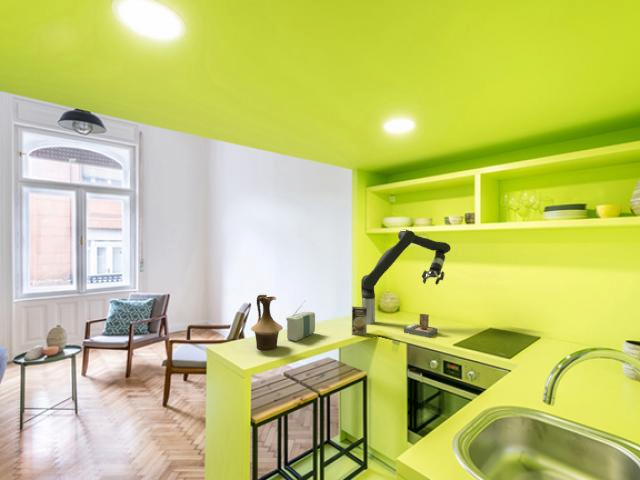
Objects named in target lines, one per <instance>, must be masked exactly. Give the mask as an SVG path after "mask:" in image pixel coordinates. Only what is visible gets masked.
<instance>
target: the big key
mask: <svg viewBox="0 0 640 480" xmlns="http://www.w3.org/2000/svg"><path fill="white" fill-rule="evenodd" d="M415 330H420V331H425V332H428V331H430V330H432V328H427V330H423V329H421V328H419V327H418V328H416V329H415Z"/></svg>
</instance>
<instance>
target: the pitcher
mask: <svg viewBox="0 0 640 480" xmlns="http://www.w3.org/2000/svg"><path fill="white" fill-rule="evenodd" d="M275 300H277V297H276V296H268V295H267V294H259V295H257V297H256V306H257V307H256V308H257V313H258V315H257V316H258V319H257V322H256V324H254V325H252V326H251V327H250V330H251V331H252V332H253V333H254V334H255V343H256V349H257V350H261V351H271V350H272V351H273V350H275V349H277V348H278V338H279V333H280V332H281V331H282V330H283V328H284V327H283V325H282V324H281V325H280V323H278V322H277V321H275V320H274V318H273V317H272V314H271V310H270V309H271V308H270V307H271V304H272V303H271V302H273V301H275ZM261 304H262V309H261Z"/></svg>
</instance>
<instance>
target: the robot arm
mask: <svg viewBox="0 0 640 480" xmlns="http://www.w3.org/2000/svg"><path fill="white" fill-rule="evenodd" d="M405 230H406V231H401V230H400V231H399V232H398V234H397V237H398V239H399V240H398V241H397V243H396V244H395V245H393V246H392V247H390V248H389V249H387V250H386V251H385V252H383V254H382V255H381V256H380V258H379V259H378V260H377V262H376V264H375V267H374V268H373V269H372V270H371V271H370V273H368V274H365V275H363V277H362V278H361V280H360V281H361V283H360V284H361V285H360V288H361V307H366V308H367V325H372V324H376V293H375V287H376V285H377V283H378V282H379V280H380V279H381V278H382V276H383V275H384V274H385V273H386V272H387V271H388V270H389V269H390V268H391V267H392V266H393V264H394V263H395V262H396V261H397V260H398V258H399V257H400V256H401V255H402V253H403V252H404V251H405V250H406V249H407V248H408V247H409V246H410V245H411V244H414V245H417V246H419V247H421V248H424V249H427V250H431V251H435V253H434V256H433V257H434V258H433V260H432V262H431V264H430V267H429V270H428V271H427V270H423V272H422V274H421V278H422V284H424V285H425V284H426V282H427V280H428V279H431V278H435V283H434V284H435V285H436V286H437V285H438V284H439V283H440V281H443V280H444V278H445V272H444V271H443V270H442V269H443V267H444V263H445V261H446V260H445V259H446V254H447V253H448V252H450V251H451V249H452V248H451V245H450V244H448V243H447V242H445V241H435V240H432V239H430V238H426V237H423V236H419V235H417V234H415V232H414V231H412V230H410V231H409V229H405ZM439 276H440V277H439Z"/></svg>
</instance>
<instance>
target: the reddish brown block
mask: <svg viewBox="0 0 640 480" xmlns="http://www.w3.org/2000/svg"><path fill="white" fill-rule="evenodd" d="M429 318H430V315H429V314H425V313H420V314H419V324H418V325H419V328H421V329H423V330H427V328H428V327H429Z"/></svg>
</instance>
